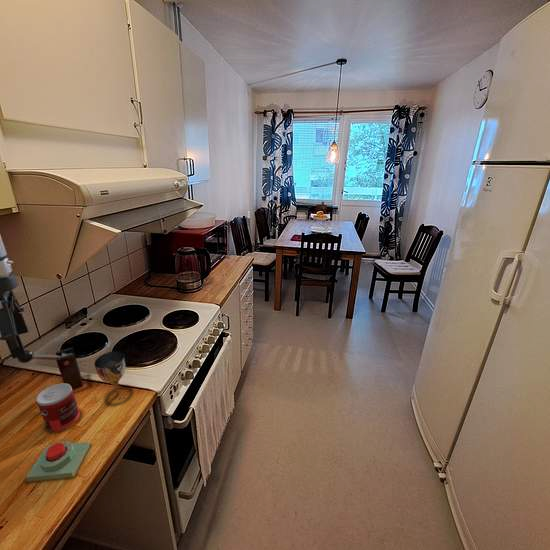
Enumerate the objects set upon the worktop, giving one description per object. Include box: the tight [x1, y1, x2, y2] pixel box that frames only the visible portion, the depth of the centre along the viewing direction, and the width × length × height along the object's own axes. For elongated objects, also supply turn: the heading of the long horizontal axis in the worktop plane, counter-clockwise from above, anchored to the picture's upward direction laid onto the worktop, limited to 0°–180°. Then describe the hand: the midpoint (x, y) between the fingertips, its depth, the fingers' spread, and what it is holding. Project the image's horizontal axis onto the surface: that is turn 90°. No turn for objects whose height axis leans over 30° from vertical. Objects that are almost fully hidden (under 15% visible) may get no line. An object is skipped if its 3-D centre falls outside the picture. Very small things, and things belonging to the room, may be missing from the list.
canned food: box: [36, 382, 81, 431], centre depth 80 cm, size 8×8×11 cm
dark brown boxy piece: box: [55, 347, 84, 391], centre depth 92 cm, size 8×7×14 cm
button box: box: [25, 440, 90, 483], centre depth 70 cm, size 10×8×4 cm
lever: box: [16, 349, 72, 364], centre depth 87 cm, size 13×4×4 cm, turn 127°
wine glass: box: [93, 350, 127, 396], centre depth 88 cm, size 8×8×15 cm
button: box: [46, 442, 66, 462], centre depth 69 cm, size 4×4×2 cm
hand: (21, 344), depth 82 cm, fingers open, 13 cm apart
